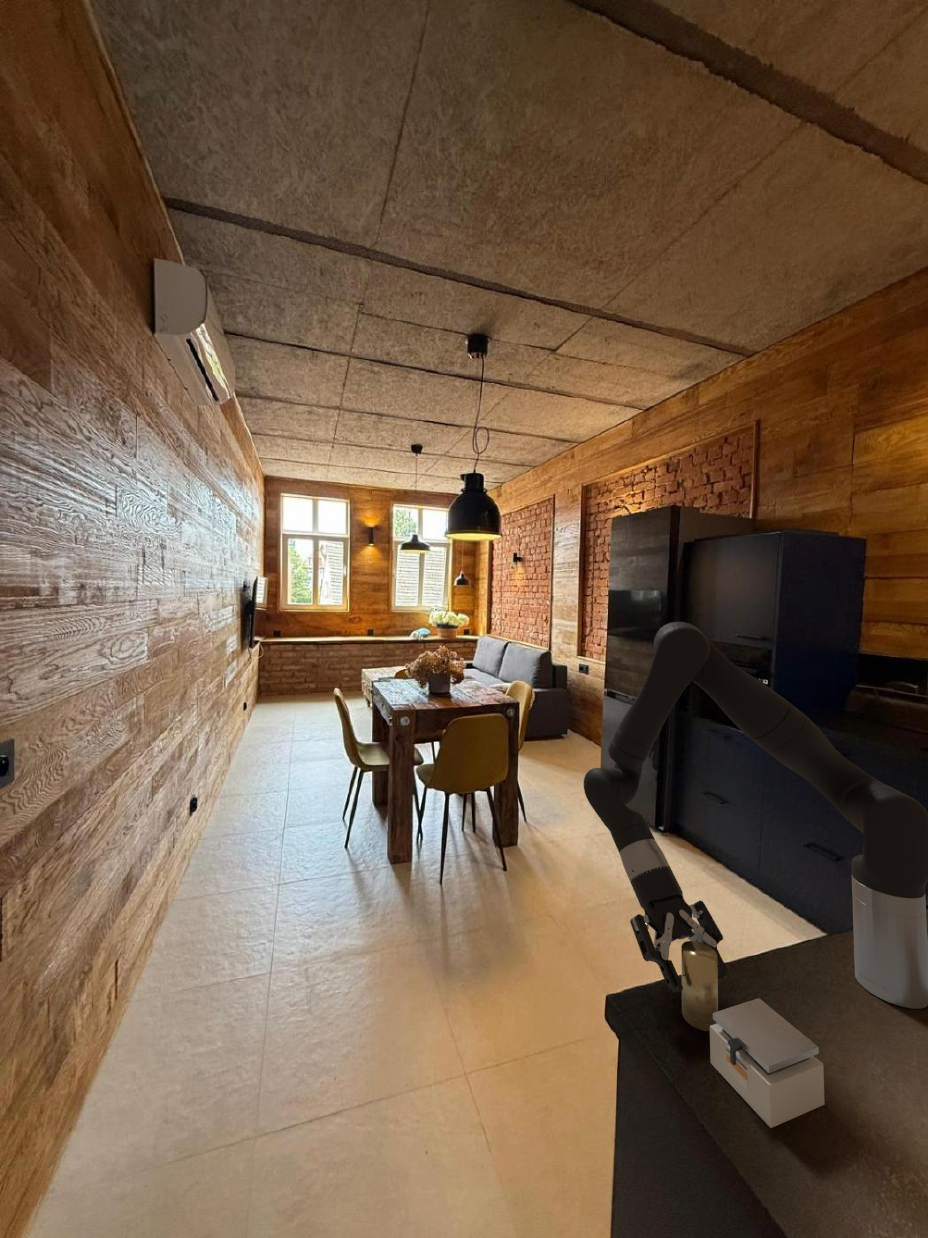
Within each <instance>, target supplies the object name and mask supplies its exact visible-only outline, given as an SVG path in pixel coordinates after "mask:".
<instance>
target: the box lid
mask: <svg viewBox="0 0 928 1238" xmlns="http://www.w3.org/2000/svg"><path fill="white" fill-rule="evenodd" d="M713 1020H715V1021H716V1022H717V1023H718V1024H719V1025H720V1026H721V1027H722V1028H723V1029H724V1030H725V1031H726V1032H727V1033H728V1034H729V1035H730V1036H731V1037H732V1038H733V1039H731V1040H728V1045H729V1046H730V1062H731V1063H732V1064H733V1065H736V1051H739V1050H742V1049H744V1050H745V1051H746V1052H748V1053H749V1054H750V1055H751V1056H752V1057H753V1058H754V1061H755V1063H756V1064H757V1065H758V1066H759V1067H760V1068H762V1069H764V1070H766V1071H767V1072H768V1073H771V1072H773V1071H776V1070H778V1069H781V1068H784V1067H786V1066H789V1065H791V1064H794V1063H796V1062H799V1061H801V1060H804V1059H806V1058H809V1057H812V1056H814V1057H815V1056H816V1055H817V1056H818V1054H820V1050H819V1049H820V1047H819V1046H818V1045H817V1044H815V1042H813V1041H812V1040H811V1039H810V1038H808V1037H807V1036H806V1035H805V1034H803V1032H801V1031H800V1030H799V1029H797V1028H796V1027H795V1026H794V1025H793V1024H791V1022H789V1021H787V1020H786V1019H785V1018H784V1017H783V1016H781V1014H779V1013H778V1012H776V1011H775V1010H774V1009H773V1008H771V1006H770V1005H768V1004H767V1003H766V1002H764V1001H763V1000H762V999H761V998H760V997H758V998H755V999H752V1000H749V1001H745V1002H743V1003H740V1004H736V1005H734V1006H730V1007H728V1008H725V1009H721V1010H718V1012H715V1013H713Z"/></svg>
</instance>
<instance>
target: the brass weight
mask: <svg viewBox="0 0 928 1238" xmlns="http://www.w3.org/2000/svg"><path fill="white" fill-rule="evenodd" d="M680 948H681V949H680V950H681V952H680V953H681V957H680V958H681V983H682V986H683V990H681V1014H682V1017H683V1019H684V1021H685V1022H687V1024H689V1025H690V1026H692V1027H693V1028H695V1029H697V1030H700V1031H705V1032H710V1026H711V1025H714V1024H717V1022H716V1021H715V1020H713V1013H715V1012H718V1011H719V988H718V985H719V983H718V981H719V980H718V967H717V953H716V952H715V951H714V950H713V949H712V948H711V947H709V946H708V945H706V944H704V943H701V942H697V941H691V940H688V941H684V942H683V943H682V944H681V947H680ZM688 974H689V975H688ZM683 975H686V976H683Z"/></svg>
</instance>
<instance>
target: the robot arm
mask: <svg viewBox="0 0 928 1238" xmlns="http://www.w3.org/2000/svg"><path fill="white" fill-rule="evenodd" d="M653 639H654V640H653V650H654V651H653V653H654V655H653V658H652V662H651V666H650V669H649V671H648V672H649V673H648V674H647V677H646V679H645V682H644V684H643V686H642V688H641V690H640V692H639V693H638V695H637V697H636V699H634V701H633V702H632V704H631V705H630V707H629V708H628V710H627V712H626V713H625V715H624V716H623V718H622V719H621V721H620V723H619V725H618V728H617V729H616V731H615V733H614V735H613V737H612V740H610V743H609V746H608V749H607V751H608V752H607V753H608V755H609V757H610V758H611V759H612V761H613V762H615V764H614V766H613V767H612V768H608V767H607V768H606V767H605V768H604V767H594V768H592V769H589V770H587V772H586V774H585V775H584V778H583V790H584V794H585V797H586V799H587V801H588V803H589V805H590V807H591V808H592V810H593V811H594V812H595V813H596V815H597V816H598V818H599V819H600V820H601V822H602V823H603V825H604V826H605V827H606V828H607V830H609V832H610V835H611V838H612V840H613V843H614V844H615V847H616V849H617V851H618V853H619V856H620V859H621V862H622V866H623V868H624V871H625V873H626V876H627V877H628V880H629V882H630V885H631V887H632V889H633V892H634V894H635V896H636V898H637V901H638V903H639V906H640V908H642V909H643V912H644V915H642V914H640V913H637V915H635V916H634V917H632V918H631V919H630V920H629V921H630V922H629V923H630V926H631V928H632V930H633V933H634V937H635V940H636V943H637V945H638V947H639V950H640V952H641V956H642V958H643V960H644V961H645V962H653V963H655V964H656V965H658V967H659V970H660V972H661V974H662V977H663V980H664V982H665V984H666V986H667V987H668V989H671V991H672V992H673V993H674V994H675V993H678V992H682V990H683V986H682V980H681V979H680V977H679V975H678V972H677V971H676V968H675V965H674V964H673V963H674V962H673V961H672V959H669V957H670V947H671V945H672V943H673V942H675V941H677V940H684V939H688V941H697V942H701V943H704V944H706V945H708V946H709V947H711V948H712V949H713V950H714V951H715V952H716V953H717V966H719V965H721V966H719V967H718V981H720V980H723V979H726V978H728V968H727V966H726V964H725V962H724V959H723V958H722V956H721V954H720V951H719V949H718V944H720V942H721V941H723V940H724V936H723V933H722V932H721V930H720V929H719V926H718V925H717V923H716V922H715V919H714V917H713V916H712V914H711V912H710V911H709V909H708V907H707V906H706V904H705V902H704V901H703V900H698V901H696V902H694V903H693V904H688V903H687V902H686V901H685V898H684V895H683V890H682V888H681V886H680V884H679V882H678V879H677V878H676V875H675V874H674V872H673V870H672V868H671V866H670V864H669V862H668V859H667V858H666V856H665V854H664V852H663V851H662V848H661V847H660V846H659V844H658V843H657V841H656V839H655V837H654V835H653V833H652V830H651V828H650V827H649V825H648V823H647V821H646V819H645V817H644V816H643V814H642V813H640V812H639V811H636V810H634V809H632V808H631V807H628V806H627V804H629V803H630V802H631V801H632V800H633V799H634V798H635V796H636V795H637V793H638V790H639V786H640V783H641V782H640V781H641V777H642V772H643V768H644V767H643V766H644V763H645V760H646V759H647V757H648V756H649V754H650V752H651V750H652V748H653V747H654V744H655V743H656V740H657V738H658V736H659V734H660V732H661V730H662V728H663V726H664V725H665V722H666V721H667V718H668V717H669V715H670V713H671V711H672V709H673V708H674V706H675V704H676V703H677V702H678V700H679V699H680V697H681V696H682V695H683V693H684V691H685V690H686V688H687V687H689V685H690V684H691V682H693V683H694V684H696V685H697V686H698V687H699V688H701V689H702V690H703V691H704V692H705V693H706V694H707V695H708V696H709V697H710V698H711V699H712V700H713V701H714V703H716V705H717V706H718V707H719V708H720V709H721V710H722V712H723V713H724V714H725V715H726V716H727V717H728V718H729V720H730V721H732V723H733V724H734V725H735V726H736V727H738V729H739V730H741V732H743V733H744V734H745V735H746V736H747V737H748V738H749V739H750V740H752V741H753V742H754V743H755V744H757V745H758V746H759V747H760V749H762V750H764V752H766V753H767V754H769V755H770V756H771V757H773V758H774V759H775V760H777V761H778V762H779V763H781V764H782V765H783V766H785V767H786V768H788V769H789V770H791V771H793V772H794V773H796V774H797V775H799V776H800V777H802V778H803V779H805V780H806V781H808V782H809V783H810V784H811V785H812V786H813V787H815V788H816V790H818V791H819V792H820V793H821V794H822V795H823V796H824V797H825V798H826V799H827V800H828V801H829V802H830V803H831V804H832V806H834V807H835V808H836V809H837V811H839V812H840V814H841V815H842V816H843V817H844V818H845V819H846V820H847V821H848V822H850V824H851V825H852V826H853V827H855V828H856V829H858V830H859V831H860V832H861V833H863V848H862V849H863V852H862V854H858V855H855V856H854V857H853V858H852V859H851V866H850V867H851V892H852V920H853V921H852V922H853V923H852V926H853V956H854V957H853V958H854V961H853V962H854V976H855V979H856V980H857V983H859V985H861V987H863V989H865V990H866V991H867V992H869V993H871V995H874V996H876V997H877V998H879V999H881V1000H883V1001H885V1002H888V1003H889V1004H893V1005H895V1006H898V1007H901V1008H907V1009H917V1010H919V1009H924V1008H927V1007H928V928H927V927H928V926H927V925H928V924H927V905H926V904H927V903H926V902H927V901H926V885H927V883H928V811H927V810H926V808H925V807H924V806H923V805H922V803H920V802H919V801H918V800H917V799H915V798H914V797H911V796H910V795H907V794H905V793H904V792H902V791H900V790H898V789H896V788H894V787H892V786H890V785H888V784H886V783H884V782H882V781H880V780H878V779H876V778H875V777H873V776H872V775H870V774H869V773H867V772H865V771H864V770H862V769H861V768H859V766H857V765H856V764H854V763H853V762H851V761H850V760H848V759H847V758H846V757H844V755H842V754H841V752H839V751H838V750H837V749H836V748H835V747H834V745H833V744H832V743H831V741H829V739H828V738H827V736H826V735H825V734H824V733H823V732H822V730H821V729H820V728H819V726H817V725H816V724H815V723H814V722H813V721H812V720H811V719H810V718H809V717H808V716H807V715H806V714H804V712H802V711H800V709H798V708H797V707H796V706H794V704H792V703H791V702H789V701H788V700H786V699H785V698H784V697H783V696H781V695H780V694H779V693H777V692H776V691H774V690H773V689H772V688H770V687H768V686H767V685H766V684H765V683H763V682H761V681H760V680H758V679H757V678H755V677H754V676H753V675H751V674H749V673H747V672H746V671H745V670H743V669H741V668H740V667H738V666H737V665H735V664H734V663H733V662H732V661H731V660H730V659H729V658H727V657H726V656H725V655H724V654H723V653H722V652H721V651H720V650H719V649H718V648H717V647H716V646H715V645H714V644H713V643H712V642H711V641H710V640H709V639H708V638H707V637H706V636H705V635H704V634H703V632H702V631H701V630H700V629H699V628H698V627H696V626H695V625H694V624H691V623H689V622H685V621H673V622H669V623H666V624H665V625H663V626H662V627H660V628H659V630H658V631H656V634H655V636H654V638H653ZM693 918H695V919H696V921H695V919H693ZM649 927H650V928H651V929H653V930H654V941H653V939H652V937H651V934H650V931H649ZM675 978H676V979H675Z"/></svg>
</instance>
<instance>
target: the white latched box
mask: <svg viewBox="0 0 928 1238" xmlns="http://www.w3.org/2000/svg"><path fill="white" fill-rule="evenodd" d="M731 1039H733V1038H732V1037H731V1036H730V1035H729V1034H728V1033H727V1032H726V1031H725V1030H724V1029H723V1028H722V1027H721V1026H720V1025H719V1024H718V1023H717V1024H714V1025H711V1026H710V1031H709V1046H710V1047H709V1051H710V1052H709V1053H710V1055H709V1058H710V1064H711V1065H712V1066H713V1067H714V1069H716V1071H717V1072H718V1073H719V1074H720V1075H721V1076H722V1077H723V1078H724V1079H725V1080H726V1081H727V1082H728V1084H729V1085H730V1086H731V1087H732V1088H733V1089H734V1090H735V1091H736V1093H737V1094H738V1095H740V1097H742V1099H743V1100H744V1101H745V1102H746V1103H747V1104H748V1106H749V1107H751V1109H752V1110H753V1111H754V1112H755V1113H756V1114H757V1116H758V1117H760V1118H761V1120H762V1121H763V1122H764V1123H765V1124H766V1125H767V1126H768V1127H769V1128H770V1129H772V1128H775V1127H776V1126H779V1125H781V1124H784V1123H785V1122H788V1121H792V1120H793V1119H795V1118H798V1117H799V1116H802V1115H805V1114H806V1113H808V1112H812V1111H814V1110H815V1109H817V1108H821V1107H822V1106H825V1075H824V1074H825V1073H824V1072H825V1071H824V1063H823V1062H822V1061H820V1060H819V1059H818V1058H817V1057H815V1055H814V1056H812V1057H809V1058H806V1059H804V1060H801V1061H799V1062H796V1063H794V1064H791V1065H789V1066H786V1067H784V1068H781V1069H778V1070H776V1071H773V1072H771V1073H768V1072H767V1071H766V1070H764V1069H762V1068H760V1067H759V1066H758V1065H757V1064H756V1063H755V1061H754V1058H753V1057H752V1056H751V1055H750V1054H749V1053H748V1052H746V1051H745V1050H744V1049H742V1050H739V1051H736V1065H733V1064H732V1063H731V1062H730V1046H729V1045H728V1040H731Z"/></svg>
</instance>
